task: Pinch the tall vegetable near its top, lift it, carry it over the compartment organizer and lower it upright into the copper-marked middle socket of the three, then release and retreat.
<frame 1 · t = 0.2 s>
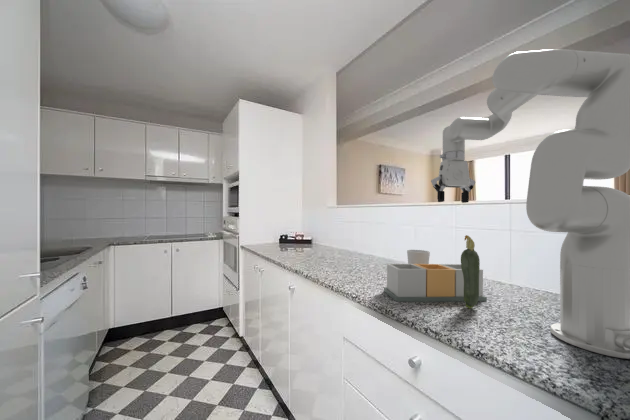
hand: (453, 202, 94), 31 cm above the countertop, fingers open, 9 cm apart
vegetable: (469, 309, 66), on the countertop
compartment organizer: (432, 295, 77), on the countertop
cup: (417, 283, 92), on the countertop
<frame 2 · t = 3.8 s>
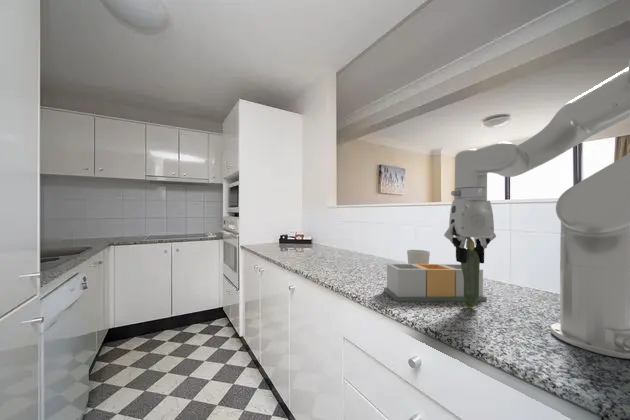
hand: (469, 261, 67), 13 cm above the countertop, fingers closed on vegetable, 4 cm apart
vegetable: (469, 309, 66), on the countertop, touching gripper
everything else where it was.
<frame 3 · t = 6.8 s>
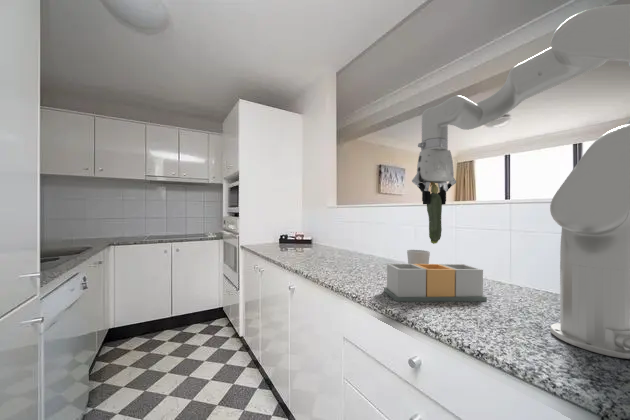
hand: (434, 203, 78), 29 cm above the countertop, fingers closed on vegetable, 4 cm apart
vegetable: (433, 244, 77), point 16 cm above the countertop, touching gripper
everything else where it was.
when the fingers open (15 cm above the countertop, at t = 10.0 s): vegetable stays where it is, resting on compartment organizer.
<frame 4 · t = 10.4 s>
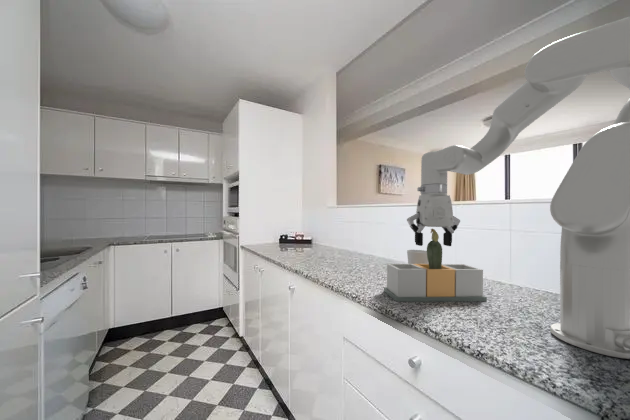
hand: (433, 245, 77), 16 cm above the countertop, fingers open, 9 cm apart
vegetable: (433, 292, 77), point 1 cm above the countertop, touching compartment organizer
everything else where it was.
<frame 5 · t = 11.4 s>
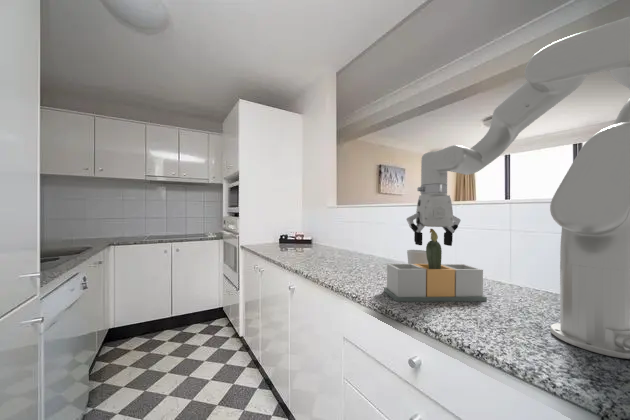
hand: (433, 245, 77), 16 cm above the countertop, fingers open, 9 cm apart
nothing on the countertop moved.
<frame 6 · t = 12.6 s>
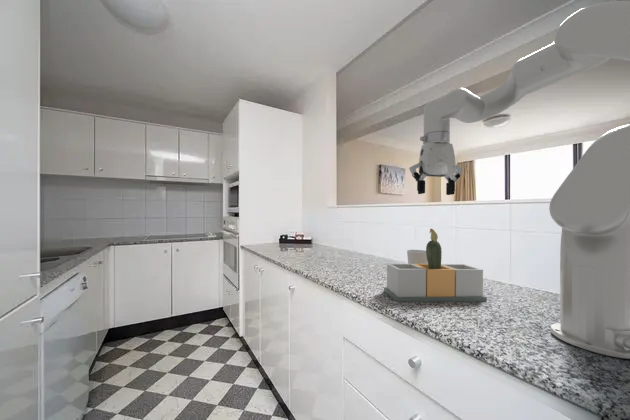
hand: (435, 194, 78), 32 cm above the countertop, fingers open, 9 cm apart
nothing on the countertop moved.
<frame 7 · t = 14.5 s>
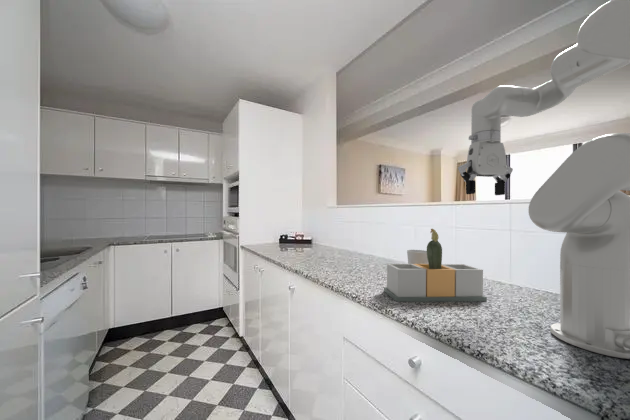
hand: (485, 194, 76), 32 cm above the countertop, fingers open, 9 cm apart
nothing on the countertop moved.
at the end: vegetable 0.3 cm off-centre on the compartment organizer, point 1.0 cm above the compartment organizer's base; vegetable tilted 2°; the gripper is holding nothing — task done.
